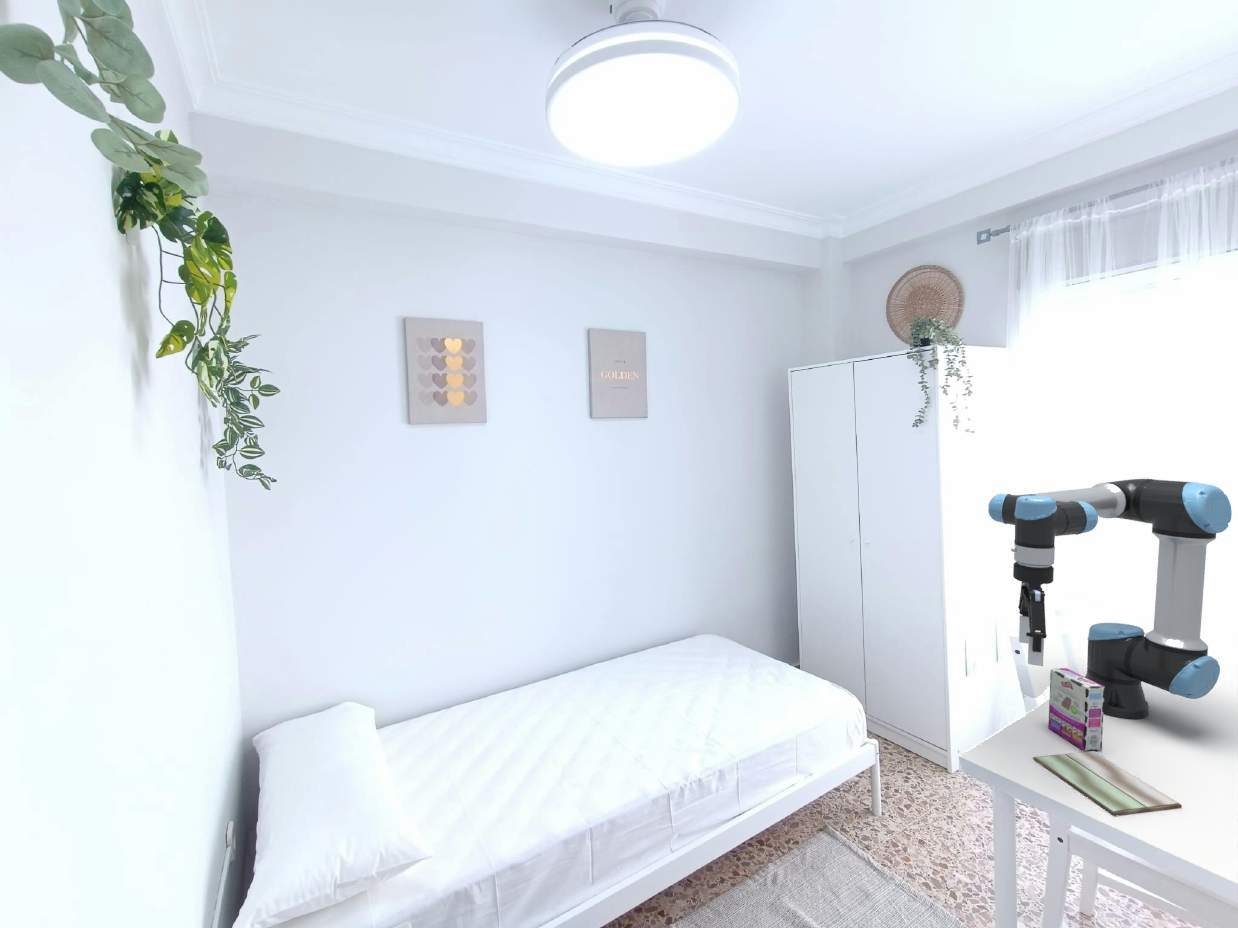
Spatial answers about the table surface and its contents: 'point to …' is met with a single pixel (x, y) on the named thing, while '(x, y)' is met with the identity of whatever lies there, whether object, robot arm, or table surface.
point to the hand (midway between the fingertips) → (1030, 653)
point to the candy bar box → (1076, 709)
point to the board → (1106, 783)
